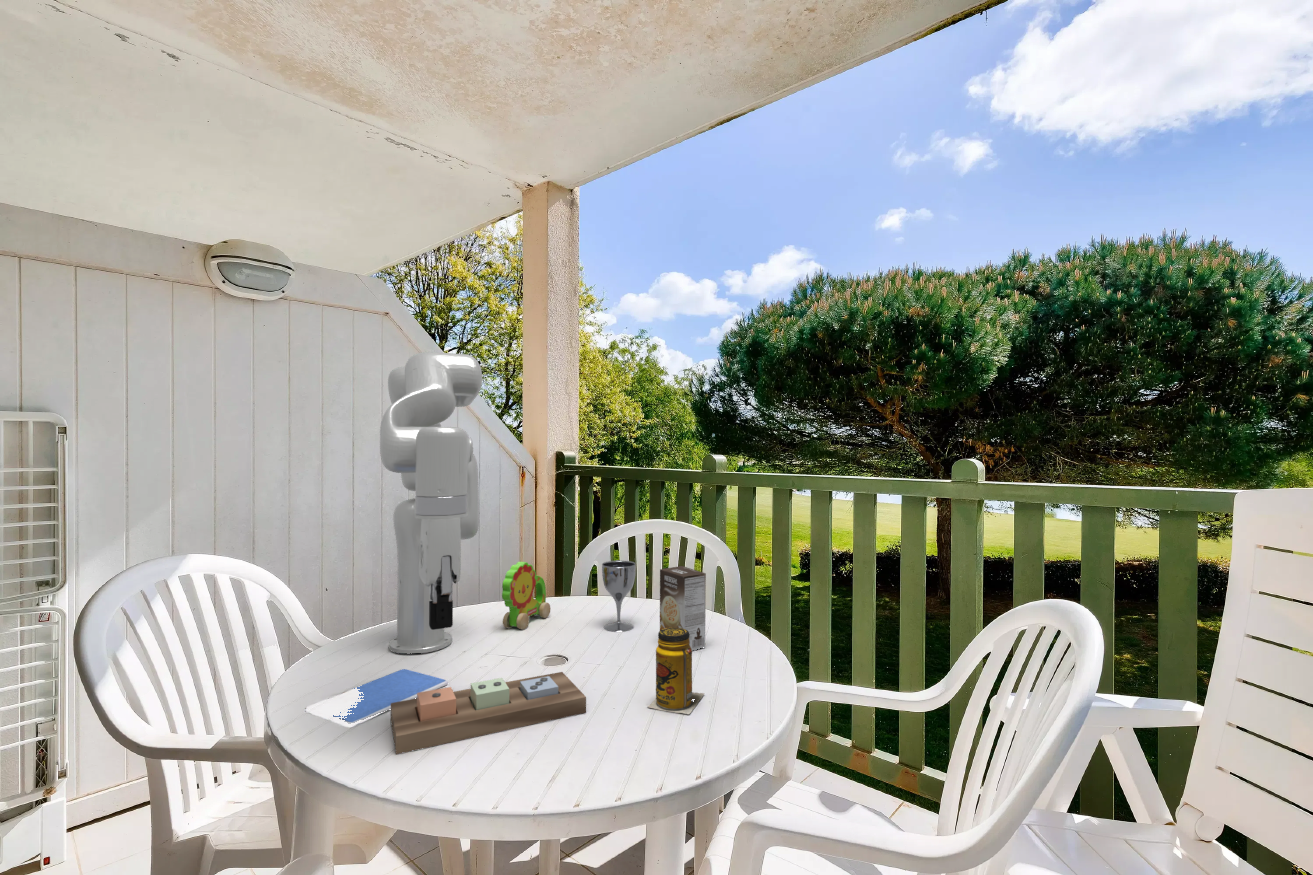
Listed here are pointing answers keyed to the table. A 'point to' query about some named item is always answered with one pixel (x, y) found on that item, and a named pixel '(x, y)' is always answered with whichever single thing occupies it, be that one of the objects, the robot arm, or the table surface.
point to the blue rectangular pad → (391, 692)
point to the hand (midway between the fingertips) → (440, 626)
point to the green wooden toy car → (523, 596)
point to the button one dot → (436, 704)
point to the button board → (483, 715)
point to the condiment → (674, 672)
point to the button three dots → (538, 688)
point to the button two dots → (489, 693)
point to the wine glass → (618, 588)
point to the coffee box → (684, 602)
